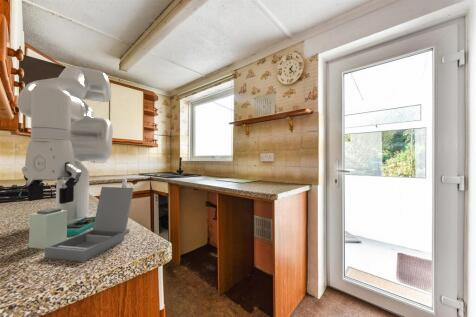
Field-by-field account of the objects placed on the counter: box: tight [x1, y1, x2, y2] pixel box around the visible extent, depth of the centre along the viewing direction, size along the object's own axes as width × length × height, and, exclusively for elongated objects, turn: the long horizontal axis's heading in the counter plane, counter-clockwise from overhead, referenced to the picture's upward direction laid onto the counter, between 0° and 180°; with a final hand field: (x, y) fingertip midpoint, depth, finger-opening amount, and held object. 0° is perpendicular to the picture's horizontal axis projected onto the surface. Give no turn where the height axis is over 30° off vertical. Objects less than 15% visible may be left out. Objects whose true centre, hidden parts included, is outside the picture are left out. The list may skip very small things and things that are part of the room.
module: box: [28, 207, 68, 250], centre depth 51 cm, size 5×5×10 cm
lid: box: [92, 186, 134, 232], centre depth 57 cm, size 10×12×1 cm
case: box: [44, 228, 125, 263], centre depth 49 cm, size 10×12×3 cm
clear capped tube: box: [121, 178, 131, 236], centre depth 59 cm, size 2×2×17 cm
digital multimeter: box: [67, 216, 95, 237], centre depth 64 cm, size 7×15×3 cm, turn 4°
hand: (50, 201), depth 52 cm, fingers open, 9 cm apart
